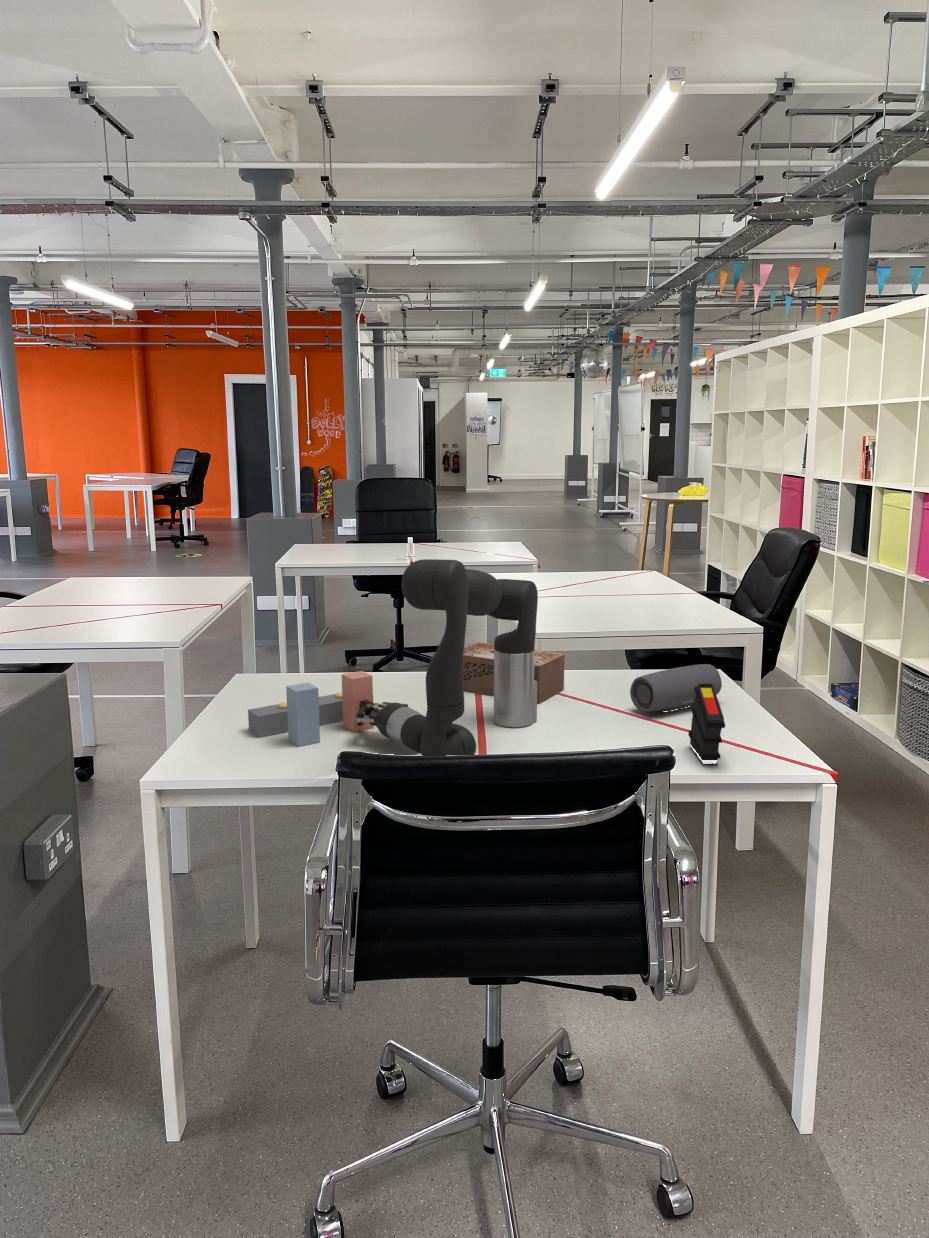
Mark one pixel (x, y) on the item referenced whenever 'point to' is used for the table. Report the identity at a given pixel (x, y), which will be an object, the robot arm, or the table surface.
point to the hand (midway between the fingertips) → (363, 704)
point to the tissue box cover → (482, 671)
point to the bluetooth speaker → (672, 687)
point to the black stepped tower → (706, 722)
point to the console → (276, 719)
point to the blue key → (303, 714)
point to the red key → (355, 698)
